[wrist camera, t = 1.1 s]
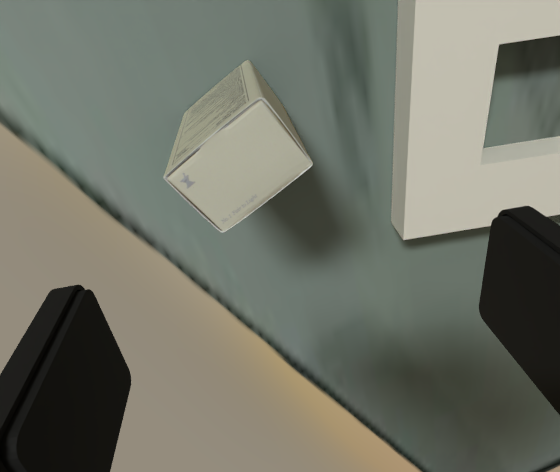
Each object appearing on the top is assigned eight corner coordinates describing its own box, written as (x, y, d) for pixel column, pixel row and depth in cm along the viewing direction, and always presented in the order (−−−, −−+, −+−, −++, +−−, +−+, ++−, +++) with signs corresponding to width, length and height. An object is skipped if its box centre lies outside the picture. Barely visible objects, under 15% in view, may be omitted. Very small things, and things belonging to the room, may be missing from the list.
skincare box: (221, 156, 32) (220, 240, 22) (180, 110, 30) (157, 180, 19) (286, 104, 30) (318, 168, 20) (248, 52, 28) (261, 94, 18)
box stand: (399, -48, 26) (418, -51, 24) (700, -90, 27) (750, -97, 24) (391, 222, 37) (403, 240, 34) (605, 187, 37) (633, 202, 35)
